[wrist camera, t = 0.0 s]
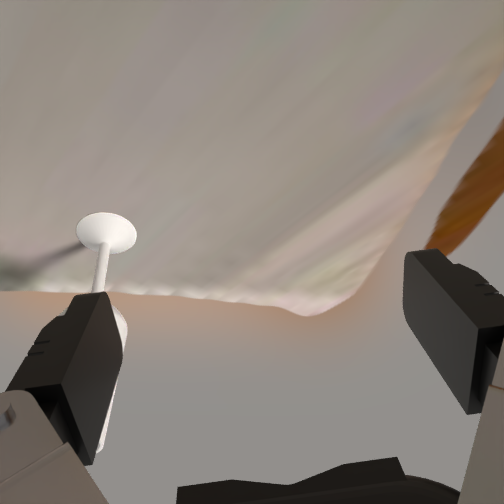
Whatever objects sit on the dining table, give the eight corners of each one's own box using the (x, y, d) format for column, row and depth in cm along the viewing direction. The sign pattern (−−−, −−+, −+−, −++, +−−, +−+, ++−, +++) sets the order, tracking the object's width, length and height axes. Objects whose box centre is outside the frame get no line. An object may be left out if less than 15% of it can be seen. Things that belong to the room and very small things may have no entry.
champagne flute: (147, 227, 52) (131, 437, 36) (120, 261, 56) (94, 465, 39) (91, 203, 49) (45, 422, 32) (66, 240, 52) (13, 455, 36)
